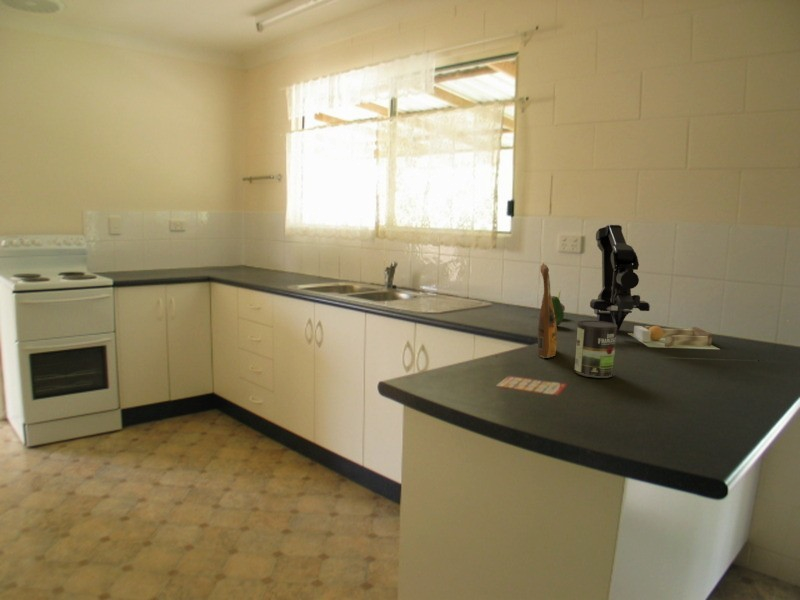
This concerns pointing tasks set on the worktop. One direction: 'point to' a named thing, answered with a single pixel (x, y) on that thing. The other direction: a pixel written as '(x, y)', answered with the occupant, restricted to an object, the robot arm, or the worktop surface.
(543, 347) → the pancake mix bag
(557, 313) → the fruit
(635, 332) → the white block
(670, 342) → the wooden tray
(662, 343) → the white flat square board
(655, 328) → the ball
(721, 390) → the worktop surface
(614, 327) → the coffee can
